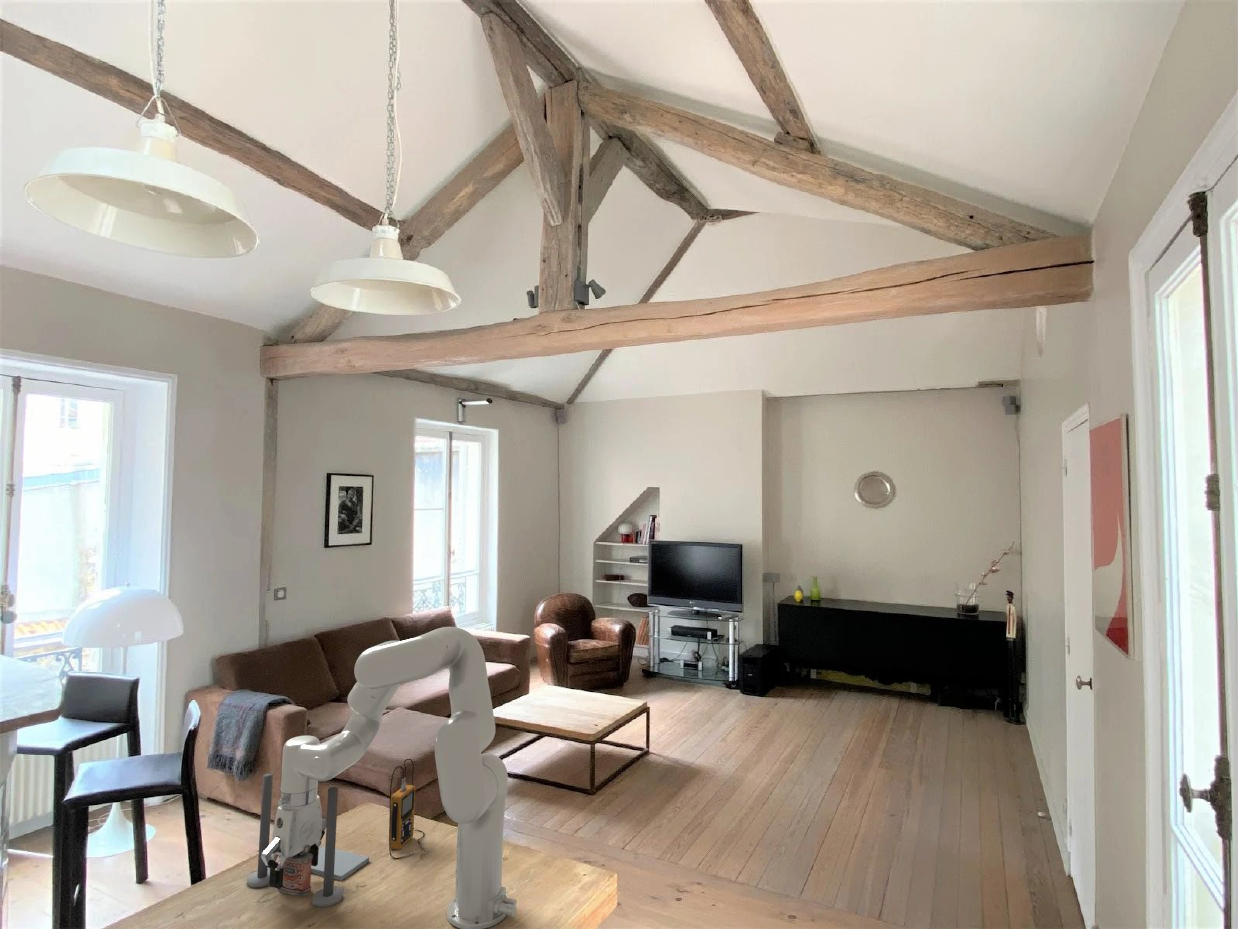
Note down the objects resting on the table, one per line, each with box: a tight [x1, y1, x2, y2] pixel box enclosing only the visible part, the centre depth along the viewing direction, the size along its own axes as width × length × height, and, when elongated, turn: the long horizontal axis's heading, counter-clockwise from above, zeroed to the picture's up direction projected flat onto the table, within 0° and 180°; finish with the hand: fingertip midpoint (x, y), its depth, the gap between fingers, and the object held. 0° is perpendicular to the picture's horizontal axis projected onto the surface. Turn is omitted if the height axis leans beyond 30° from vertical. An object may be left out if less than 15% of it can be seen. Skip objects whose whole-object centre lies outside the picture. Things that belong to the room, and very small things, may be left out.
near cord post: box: [312, 786, 344, 908], centre depth 142 cm, size 6×6×23 cm
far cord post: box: [246, 773, 274, 888], centre depth 149 cm, size 6×6×23 cm
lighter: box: [277, 844, 313, 896], centre depth 145 cm, size 8×3×10 cm, turn 73°
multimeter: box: [388, 758, 428, 860], centre depth 166 cm, size 15×10×20 cm
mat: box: [311, 845, 370, 882], centre depth 155 cm, size 14×9×1 cm, turn 70°
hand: (294, 875), depth 145 cm, fingers open, 9 cm apart
